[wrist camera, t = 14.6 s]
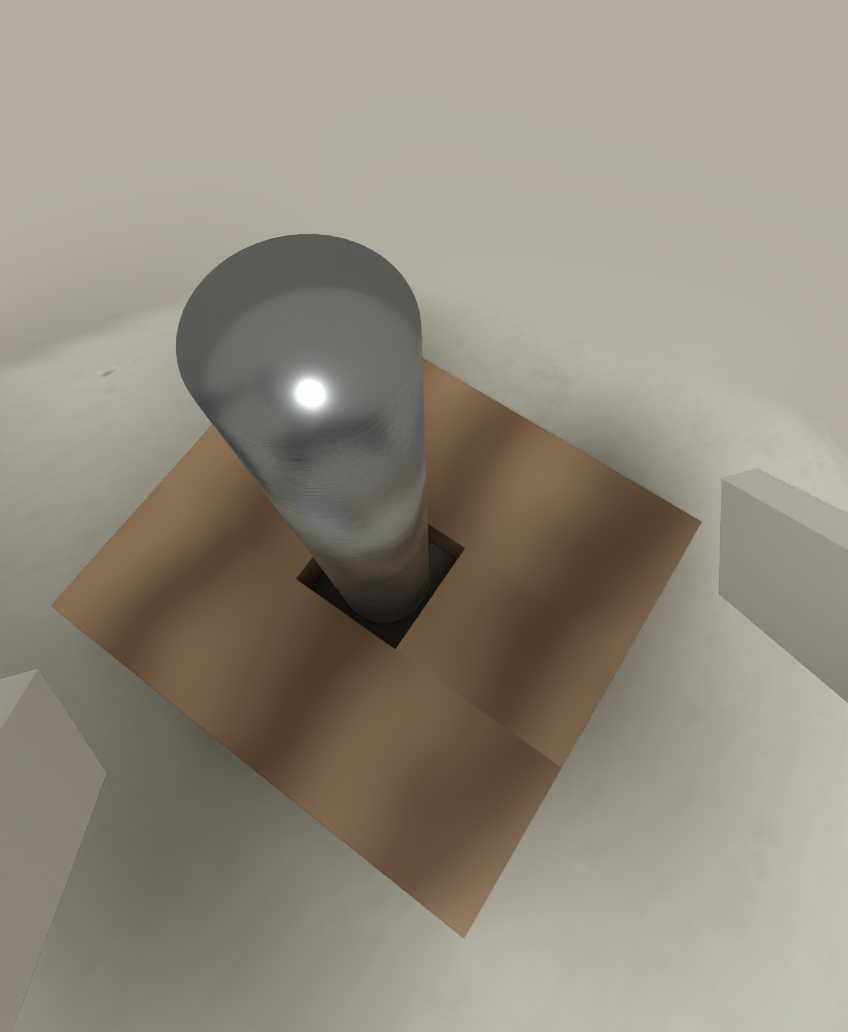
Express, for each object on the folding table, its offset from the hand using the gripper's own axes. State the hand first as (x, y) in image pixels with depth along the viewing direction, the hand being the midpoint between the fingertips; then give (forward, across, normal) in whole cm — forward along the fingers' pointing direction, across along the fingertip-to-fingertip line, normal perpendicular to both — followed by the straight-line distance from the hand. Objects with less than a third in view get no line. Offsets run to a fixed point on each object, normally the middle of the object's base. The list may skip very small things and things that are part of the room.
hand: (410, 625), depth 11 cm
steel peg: (+14, 0, -7) cm, 15 cm away
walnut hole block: (+14, 0, -7) cm, 15 cm away
